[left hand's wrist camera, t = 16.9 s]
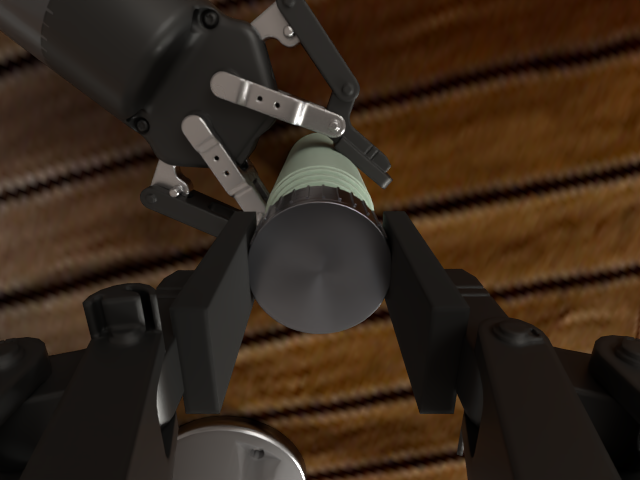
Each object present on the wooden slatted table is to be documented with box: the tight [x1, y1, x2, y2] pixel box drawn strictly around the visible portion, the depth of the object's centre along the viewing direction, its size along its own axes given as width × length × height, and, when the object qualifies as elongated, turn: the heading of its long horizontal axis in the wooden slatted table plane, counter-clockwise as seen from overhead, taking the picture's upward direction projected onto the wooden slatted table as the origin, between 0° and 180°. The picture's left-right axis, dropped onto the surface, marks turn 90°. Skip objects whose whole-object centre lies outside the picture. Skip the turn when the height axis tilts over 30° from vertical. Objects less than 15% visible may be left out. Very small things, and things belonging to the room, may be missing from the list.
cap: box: [248, 184, 392, 334], centre depth 13 cm, size 5×5×2 cm
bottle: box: [265, 133, 374, 214], centre depth 21 cm, size 5×5×17 cm
